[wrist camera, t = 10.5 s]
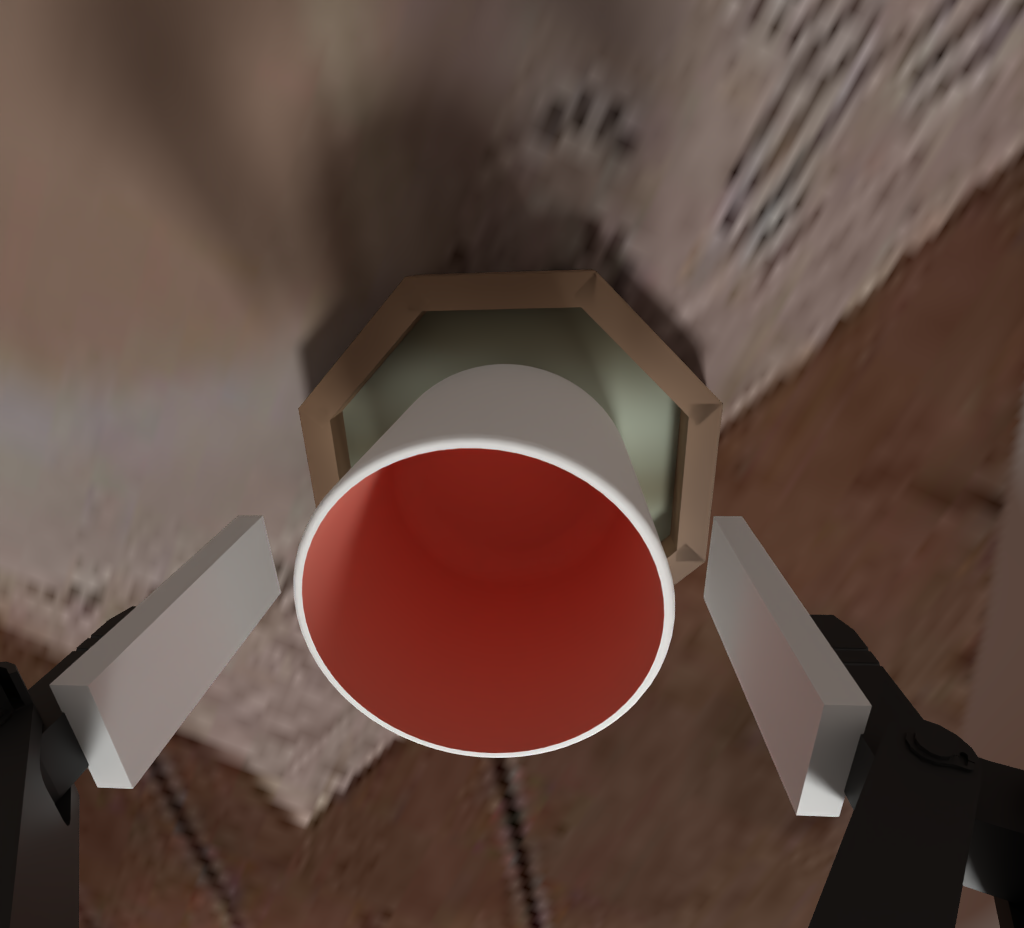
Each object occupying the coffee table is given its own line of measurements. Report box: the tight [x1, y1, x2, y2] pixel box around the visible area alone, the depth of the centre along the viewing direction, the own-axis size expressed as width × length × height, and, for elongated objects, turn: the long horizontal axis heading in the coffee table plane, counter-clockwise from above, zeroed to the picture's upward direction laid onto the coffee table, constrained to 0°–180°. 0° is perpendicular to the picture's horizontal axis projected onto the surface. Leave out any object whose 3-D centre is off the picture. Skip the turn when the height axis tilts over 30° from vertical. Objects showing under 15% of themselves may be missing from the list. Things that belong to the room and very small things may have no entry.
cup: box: [293, 364, 675, 758], centre depth 19 cm, size 10×10×10 cm
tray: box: [298, 269, 723, 586], centre depth 23 cm, size 16×16×2 cm
